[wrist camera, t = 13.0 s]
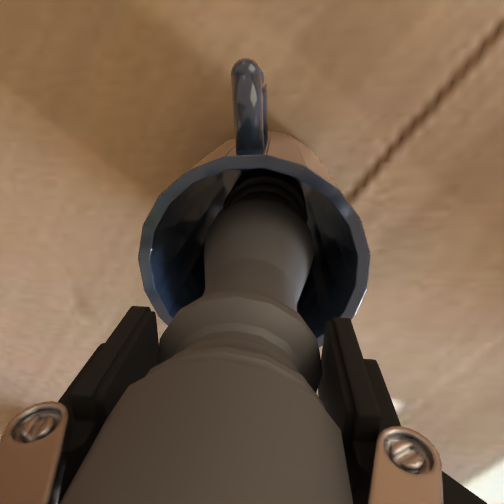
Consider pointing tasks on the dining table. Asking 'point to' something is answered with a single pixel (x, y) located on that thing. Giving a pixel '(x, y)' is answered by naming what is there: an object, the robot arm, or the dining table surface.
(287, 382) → the candle holder
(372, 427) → the robot arm
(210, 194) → the dark grey mug
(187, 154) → the dining table surface
